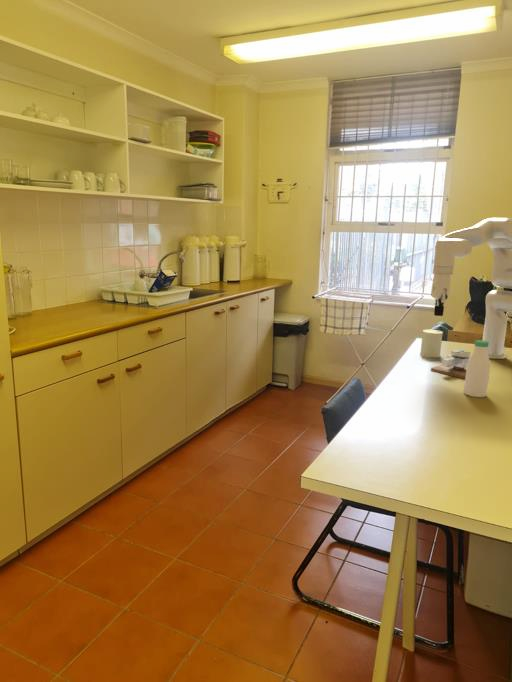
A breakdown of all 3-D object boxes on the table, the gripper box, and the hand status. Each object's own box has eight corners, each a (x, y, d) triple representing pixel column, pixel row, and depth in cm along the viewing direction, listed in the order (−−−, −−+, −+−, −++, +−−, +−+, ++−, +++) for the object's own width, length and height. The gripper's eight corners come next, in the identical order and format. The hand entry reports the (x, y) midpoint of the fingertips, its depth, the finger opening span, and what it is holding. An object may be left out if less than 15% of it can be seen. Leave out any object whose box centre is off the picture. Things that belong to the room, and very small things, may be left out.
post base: (450, 364, 225) (452, 349, 223) (485, 373, 213) (488, 357, 212) (430, 370, 215) (432, 354, 213) (466, 379, 203) (468, 363, 201)
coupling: (436, 366, 210) (438, 352, 208) (456, 361, 218) (457, 348, 217) (452, 370, 204) (454, 356, 203) (472, 365, 213) (473, 351, 211)
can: (443, 357, 237) (446, 332, 234) (423, 357, 237) (426, 332, 234) (436, 352, 246) (439, 328, 243) (417, 352, 246) (420, 328, 243)
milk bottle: (488, 398, 181) (496, 344, 177) (465, 396, 182) (472, 342, 178) (483, 392, 188) (490, 339, 184) (461, 390, 190) (468, 338, 185)
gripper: (429, 268, 212) (424, 312, 216) (438, 272, 197) (433, 318, 201) (447, 269, 211) (442, 312, 215) (458, 272, 197) (453, 319, 201)
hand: (438, 315), depth 208 cm, fingers closed
